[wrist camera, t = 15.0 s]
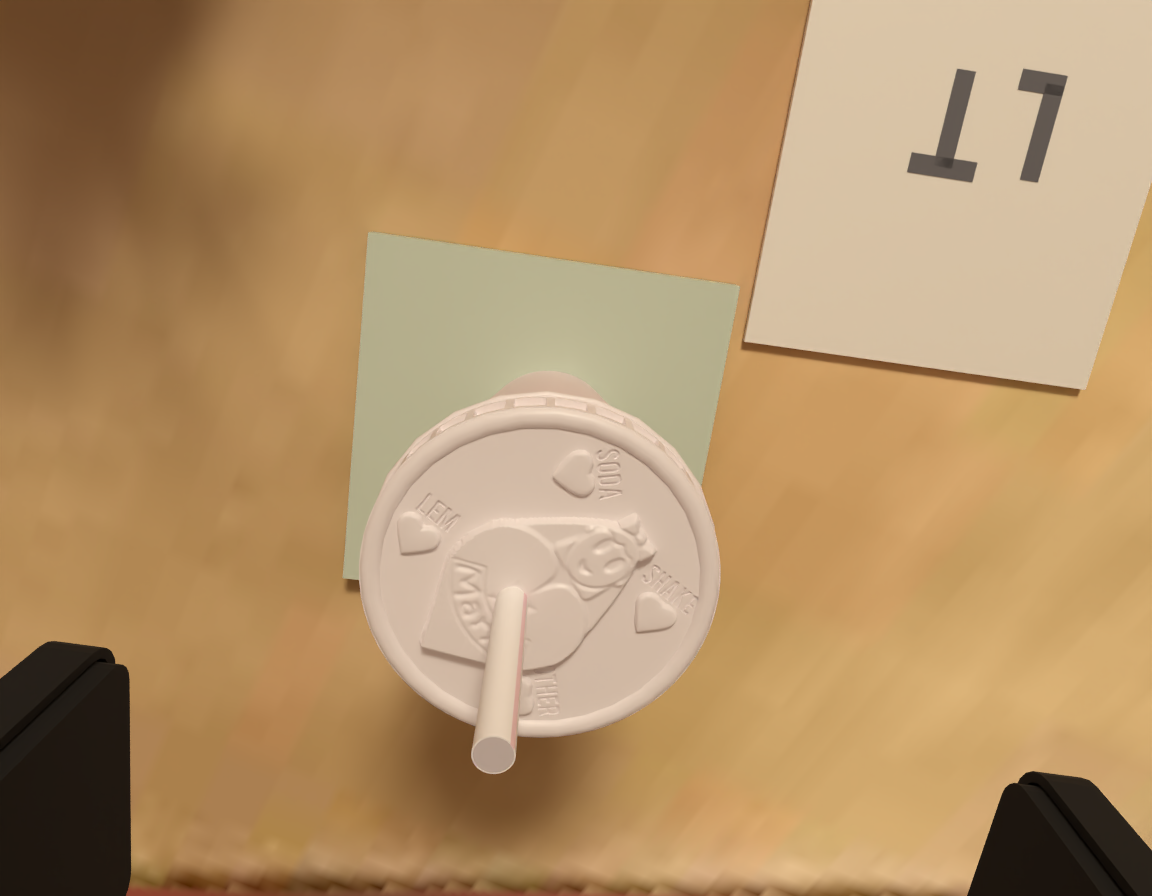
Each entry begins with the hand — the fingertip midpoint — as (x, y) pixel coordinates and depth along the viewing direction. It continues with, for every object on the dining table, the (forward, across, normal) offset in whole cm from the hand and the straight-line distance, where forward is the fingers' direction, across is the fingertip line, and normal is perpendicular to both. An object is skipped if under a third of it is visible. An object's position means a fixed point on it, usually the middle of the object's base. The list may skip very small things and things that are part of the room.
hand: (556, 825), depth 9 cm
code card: (+16, -9, -8) cm, 21 cm away
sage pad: (+16, +1, 0) cm, 16 cm away
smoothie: (+16, +1, 0) cm, 16 cm away
